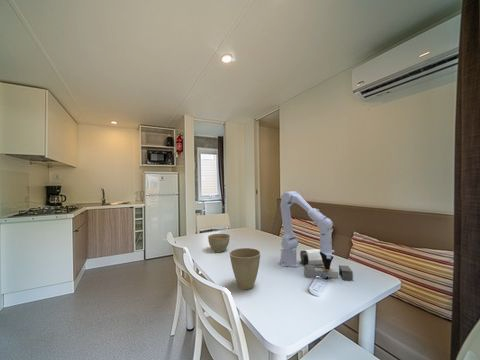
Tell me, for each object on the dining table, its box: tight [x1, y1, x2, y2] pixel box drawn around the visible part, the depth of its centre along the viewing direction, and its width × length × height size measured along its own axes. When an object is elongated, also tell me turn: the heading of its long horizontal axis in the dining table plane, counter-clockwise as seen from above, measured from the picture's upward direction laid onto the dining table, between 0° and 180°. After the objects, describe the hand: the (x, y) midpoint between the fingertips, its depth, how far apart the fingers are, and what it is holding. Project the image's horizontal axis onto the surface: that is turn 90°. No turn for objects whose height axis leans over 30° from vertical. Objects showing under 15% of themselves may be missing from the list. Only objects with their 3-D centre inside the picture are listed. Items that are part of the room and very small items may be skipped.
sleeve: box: [303, 264, 328, 279], centre depth 109 cm, size 11×7×4 cm, turn 78°
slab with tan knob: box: [315, 262, 339, 279], centre depth 108 cm, size 13×4×7 cm, turn 78°
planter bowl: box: [207, 233, 231, 253], centre depth 154 cm, size 16×16×11 cm
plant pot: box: [229, 247, 261, 290], centre depth 100 cm, size 15×15×16 cm
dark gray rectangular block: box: [338, 265, 354, 282], centre depth 106 cm, size 4×7×4 cm, turn 168°
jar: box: [299, 248, 324, 266], centre depth 125 cm, size 9×8×12 cm
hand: (326, 267), depth 108 cm, fingers closed on slab with tan knob, 3 cm apart
